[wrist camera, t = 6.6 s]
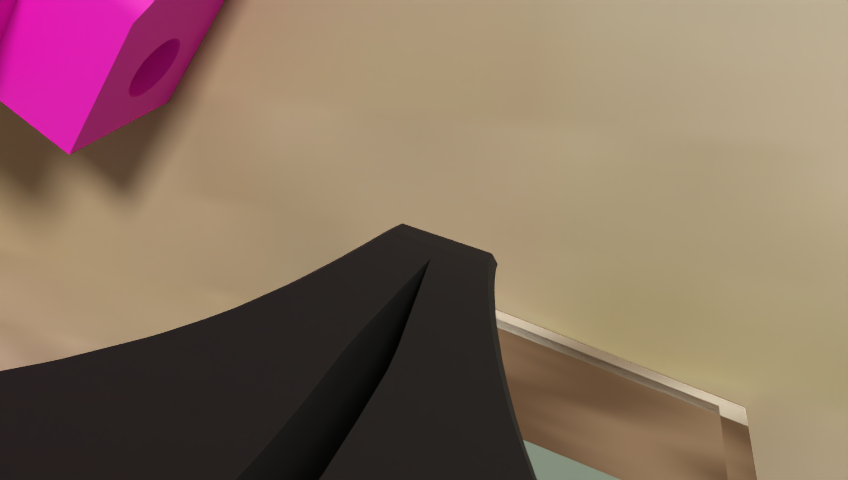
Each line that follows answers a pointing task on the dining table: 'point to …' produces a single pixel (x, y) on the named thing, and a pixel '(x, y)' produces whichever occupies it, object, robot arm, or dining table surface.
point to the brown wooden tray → (619, 411)
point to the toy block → (95, 61)
